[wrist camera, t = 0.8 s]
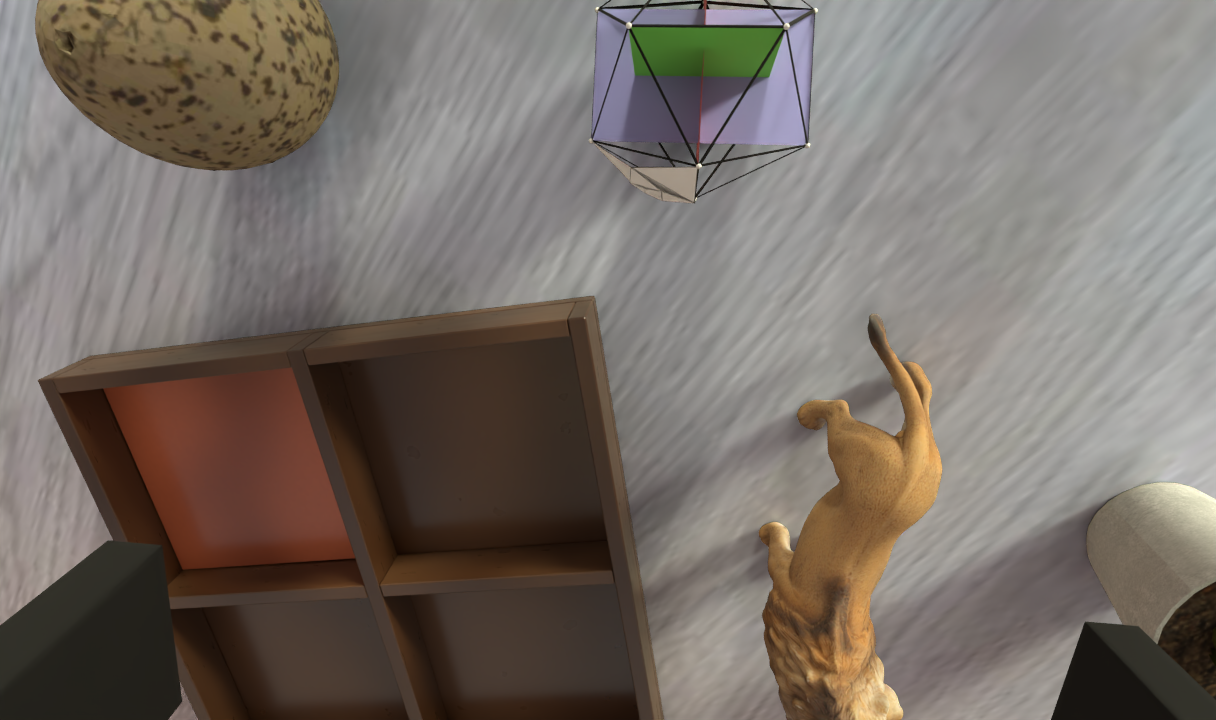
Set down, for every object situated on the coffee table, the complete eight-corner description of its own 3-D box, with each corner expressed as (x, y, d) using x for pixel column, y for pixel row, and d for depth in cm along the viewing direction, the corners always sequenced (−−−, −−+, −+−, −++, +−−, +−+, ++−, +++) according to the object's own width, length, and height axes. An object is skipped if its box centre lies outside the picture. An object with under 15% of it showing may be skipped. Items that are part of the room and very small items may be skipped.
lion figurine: (855, 616, 33) (914, 800, 24) (740, 601, 33) (759, 777, 25) (936, 316, 27) (1048, 420, 19) (797, 301, 28) (846, 397, 19)
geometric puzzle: (596, -115, 21) (564, 52, 17) (830, -118, 21) (855, 55, 16) (608, 88, 27) (587, 247, 23) (789, 90, 27) (799, 254, 23)
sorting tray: (594, 295, 28) (585, 316, 26) (665, 724, 36) (663, 774, 34) (89, 355, 32) (36, 379, 29) (256, 735, 40) (226, 781, 37)
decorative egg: (397, -10, 25) (227, -63, 16) (355, 183, 28) (188, 236, 18) (203, -87, 25) (-88, -188, 15) (179, 116, 27) (-79, 134, 18)
